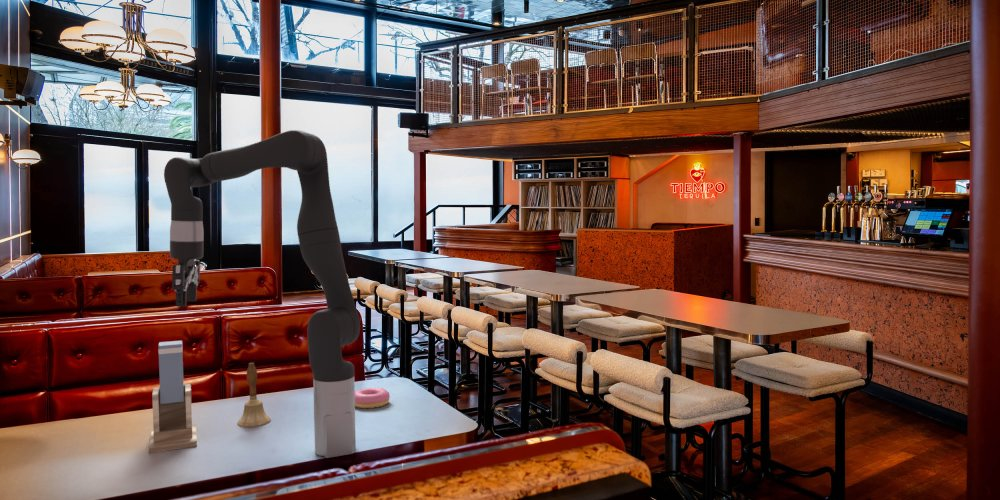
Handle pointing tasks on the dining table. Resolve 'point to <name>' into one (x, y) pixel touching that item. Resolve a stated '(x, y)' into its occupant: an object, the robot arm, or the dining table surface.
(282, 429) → the dining table surface
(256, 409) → the hand bell
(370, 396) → the doughnut
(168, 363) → the block
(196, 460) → the dining table surface
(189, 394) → the tan frame
